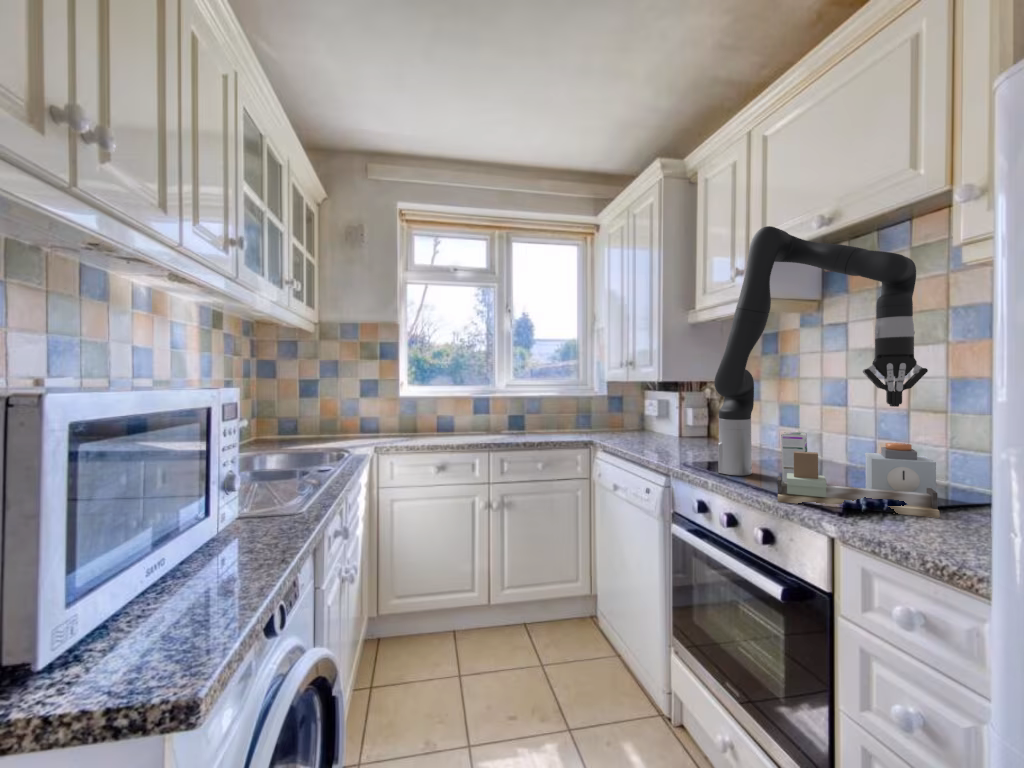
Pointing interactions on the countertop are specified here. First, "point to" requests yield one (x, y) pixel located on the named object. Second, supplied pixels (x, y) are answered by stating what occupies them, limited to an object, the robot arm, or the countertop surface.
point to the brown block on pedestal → (806, 476)
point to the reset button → (899, 446)
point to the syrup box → (791, 450)
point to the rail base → (839, 501)
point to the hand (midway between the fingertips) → (894, 406)
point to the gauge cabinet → (900, 471)
